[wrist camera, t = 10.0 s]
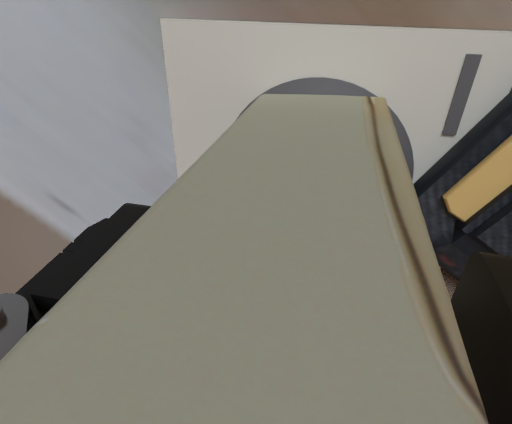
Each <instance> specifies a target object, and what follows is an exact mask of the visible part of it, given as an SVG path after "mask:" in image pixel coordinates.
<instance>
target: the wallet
mask: <svg viewBox="0 0 512 424" xmlns="http://www.w3.org/2000/svg"><path fill="white" fill-rule="evenodd" d="M413 185H414V188H415V191H416V194H417V198H418V201H419V204H420V207H421V211H422V214H423V217H424V220H425V223H426V227H427V230H428V234H429V237H430V240H431V243H432V246H433V249H434V252H435V255H436V258H437V261H438V264H439V266H440V267H441V268H442V269H443V270H445V271H446V272H447V273H449V274H450V275H452V276H453V277H454V278H456V279H457V280H460V278H461V276H462V273H463V271H464V269H465V266H466V264H467V262H468V260H469V258H470V256H471V255H472V254H473V253H474V252H484V253H491V254H499V255H506V256H512V91H511V92H510V93H509V94H508V95H507V96H506V97H505V98H503V99H502V100H501V101H500V102H499V103H498V104H497V105H496V106H495V107H494V108H493V109H492V110H491V111H490V112H489V113H488V114H487V115H486V116H485V117H484V118H482V119H481V120H480V121H479V122H478V123H477V124H476V125H475V126H474V127H473V128H472V129H471V130H470V131H469V132H468V133H467V134H466V135H465V136H464V137H463V138H461V139H460V140H459V141H458V142H457V143H456V144H455V145H454V146H453V147H452V148H451V149H450V150H449V151H448V152H447V153H446V154H445V155H444V156H443V157H441V158H440V159H439V160H438V161H437V162H436V163H435V164H434V165H433V166H432V167H431V168H430V169H429V170H428V171H427V172H426V173H425V174H424V175H423V176H421V177H420V178H419V179H418V180H417V181H416V182H415V183H414V184H413Z"/></svg>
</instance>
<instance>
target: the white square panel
mask: <svg viewBox="0 0 512 424" xmlns="http://www.w3.org/2000/svg"><path fill="white" fill-rule="evenodd" d="M160 21H161V30H162V39H163V48H164V57H165V66H166V75H167V84H168V93H169V102H170V111H171V120H172V129H173V138H174V147H175V156H176V165H177V174H178V179H179V178H180V177H181V176H182V174H183V173H184V172H185V171H186V170H187V169H188V168H189V167H190V166H191V165H192V164H193V163H194V162H195V161H197V160H198V159H199V157H200V156H201V155H202V154H203V153H204V152H205V151H206V150H207V149H208V148H209V147H210V146H211V145H212V144H213V143H214V142H215V141H216V140H217V139H218V138H219V137H220V136H221V135H222V134H223V133H224V132H225V131H226V130H227V129H228V128H229V127H230V126H231V125H232V124H233V123H234V122H235V121H236V120H237V119H238V118H239V117H240V115H241V114H242V113H243V112H244V111H245V110H246V109H247V108H248V107H249V106H250V105H251V104H252V103H253V102H254V101H255V100H256V99H257V98H258V97H259V96H260V95H263V94H309V95H346V96H367V97H383V98H385V99H386V102H387V105H388V108H389V110H390V113H391V117H392V120H393V123H394V126H395V128H396V131H397V135H398V138H399V141H400V144H401V147H402V151H403V154H404V156H405V160H406V162H407V165H408V169H409V172H410V175H411V179H412V182H413V184H414V183H415V182H416V181H417V180H418V179H419V178H420V177H421V176H423V175H424V174H425V173H426V172H427V171H428V170H429V169H430V168H431V167H432V166H433V165H434V164H435V163H436V162H437V161H438V160H439V159H440V158H441V157H443V156H444V155H445V154H446V153H447V152H448V151H449V150H450V149H451V148H452V147H453V146H454V145H455V144H456V143H457V142H458V141H459V140H460V139H461V138H463V137H464V136H465V135H466V134H467V133H468V132H469V131H470V130H471V129H472V128H473V127H474V126H475V125H476V124H477V123H478V122H479V121H480V120H481V119H482V118H484V117H485V116H486V115H487V114H488V113H489V112H490V111H491V110H492V109H493V108H494V107H495V106H496V105H497V104H498V103H499V102H500V101H501V100H502V99H503V98H505V97H506V96H507V95H508V94H509V92H510V90H511V87H512V31H493V30H467V29H440V28H413V27H386V26H359V25H332V24H306V23H279V22H252V21H225V20H198V19H171V18H162V19H160ZM439 267H440V266H439ZM440 270H441V267H440Z"/></svg>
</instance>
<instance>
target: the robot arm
mask: <svg viewBox="0 0 512 424" xmlns="http://www.w3.org/2000/svg"><path fill="white" fill-rule="evenodd" d="M150 207H151V206H145V205H138V204H131V203H126V204H124V205H123V206H122V207H121V208H119V209H118V210H117V211H116V212H115V213H114V214H113V215H112V216H111V217H110V218H109V219H108V218H105V219H103V220H101V221H100V222H98V223H96V224H94V225H92V226H90V227H88V228H87V229H86V230H84V231H83V232H82V233H81V234H80V235H79V236H78V237H77V238H76V239H75V240H74V243H72V242H71V243H70V244H69V245H68V246H67V247H66V248H65V249H64V250H63V253H59V254H58V255H57V256H56V257H55V258H54V259H53V260H52V261H50V262H49V263H48V264H47V265H46V266H45V267H44V268H43V269H42V270H41V271H39V272H38V273H37V274H36V275H35V276H34V277H33V278H32V279H31V280H30V281H29V282H27V284H25V285H24V286H23V287H22V288H21V289H20V290H19V291H18V292H16V293H15V294H13V293H2V294H0V360H1V359H2V358H3V357H4V356H5V355H6V354H7V353H8V352H9V351H10V350H11V349H12V348H13V347H14V346H15V345H16V344H17V343H18V341H19V340H20V339H21V338H22V337H23V336H24V335H25V334H26V333H27V332H28V331H29V330H30V329H31V328H32V327H33V326H34V325H35V324H36V323H37V322H38V321H39V320H40V319H41V318H42V317H43V316H44V315H45V314H47V313H48V312H49V311H50V310H51V308H52V307H53V306H54V305H55V304H56V303H57V302H58V301H59V300H60V299H61V298H62V297H63V296H64V295H65V294H66V293H67V292H68V291H69V290H70V289H71V288H72V287H73V286H74V285H75V284H76V283H77V282H78V281H79V280H80V279H81V278H82V277H83V276H84V275H85V274H86V273H87V272H88V271H89V270H90V268H91V267H92V266H93V265H94V264H95V263H96V262H97V261H98V260H99V259H100V258H101V257H102V256H103V255H104V254H105V253H106V252H107V251H108V250H109V249H110V248H111V247H112V246H113V245H114V244H115V243H116V242H117V241H118V240H119V239H120V238H121V237H122V236H123V235H124V234H125V233H126V232H127V231H128V230H129V229H130V228H131V227H132V226H133V225H134V224H135V223H136V222H137V220H138V219H139V218H140V217H141V216H142V215H143V214H144V213H145V212H146V211H147V210H148V209H149V208H150ZM451 304H452V307H453V311H454V314H455V318H456V321H457V324H458V328H459V331H460V334H461V337H462V341H463V344H464V347H465V350H466V353H467V357H468V360H469V363H470V366H471V369H472V372H473V375H474V378H475V381H476V384H477V387H478V391H479V394H480V397H481V400H482V403H483V406H484V409H485V413H486V416H487V420H488V423H489V424H512V256H506V255H499V254H491V253H484V252H474V253H473V254H472V255H471V256H470V258H469V260H468V262H467V264H466V266H465V269H464V271H463V273H462V276H461V278H460V280H459V282H458V285H457V287H456V289H455V292H454V294H453V296H452V299H451Z"/></svg>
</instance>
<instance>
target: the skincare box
mask: <svg viewBox="0 0 512 424" xmlns="http://www.w3.org/2000/svg"><path fill="white" fill-rule="evenodd" d="M0 424H489V423H488V420H487V416H486V413H485V409H484V406H483V403H482V400H481V397H480V394H479V391H478V387H477V384H476V381H475V378H474V375H473V372H472V369H471V366H470V363H469V360H468V357H467V353H466V350H465V347H464V344H463V341H462V337H461V334H460V331H459V328H458V324H457V321H456V318H455V314H454V311H453V307H452V304H451V300H450V297H449V294H448V291H447V288H446V285H445V282H444V279H443V276H442V273H441V270H440V267H439V264H438V261H437V258H436V255H435V252H434V249H433V246H432V243H431V240H430V237H429V234H428V230H427V227H426V223H425V220H424V217H423V214H422V211H421V207H420V204H419V201H418V198H417V194H416V191H415V188H414V185H413V182H412V179H411V175H410V172H409V169H408V165H407V162H406V160H405V156H404V154H403V151H402V147H401V144H400V141H399V138H398V135H397V131H396V128H395V126H394V123H393V120H392V117H391V113H390V110H389V108H388V105H387V102H386V99H385V98H383V97H367V96H346V95H309V94H263V95H260V96H259V97H258V98H257V99H256V100H255V101H254V102H253V103H252V104H251V105H250V106H249V107H248V108H247V109H246V110H245V111H244V112H243V113H242V114H241V115H240V117H239V118H238V119H237V120H236V121H235V122H234V123H233V124H232V125H231V126H230V127H229V128H228V129H227V130H226V131H225V132H224V133H223V134H222V135H221V136H220V137H219V138H218V139H217V140H216V141H215V142H214V143H213V144H212V145H211V146H210V147H209V148H208V149H207V150H206V151H205V152H204V153H203V154H202V155H201V156H200V157H199V159H198V160H197V161H195V162H194V163H193V164H192V165H191V166H190V167H189V168H188V169H187V170H186V171H185V172H184V173H183V174H182V176H181V177H180V178H179V179H178V180H177V181H176V182H175V183H174V184H173V185H172V186H171V187H170V188H169V189H168V190H167V191H166V192H165V193H164V194H163V195H162V196H161V197H160V198H159V199H158V200H157V201H156V202H155V203H154V204H153V205H152V206H151V207H150V208H149V209H148V210H147V211H146V212H145V213H144V214H143V215H142V216H141V217H140V218H139V219H138V220H137V222H136V223H135V224H134V225H133V226H132V227H131V228H130V229H129V230H128V231H127V232H126V233H125V234H124V235H123V236H122V237H121V238H120V239H119V240H118V241H117V242H116V243H115V244H114V245H113V246H112V247H111V248H110V249H109V250H108V251H107V252H106V253H105V254H104V255H103V256H102V257H101V258H100V259H99V260H98V261H97V262H96V263H95V264H94V265H93V266H92V267H91V268H90V270H89V271H88V272H87V273H86V274H85V275H84V276H83V277H82V278H81V279H80V280H79V281H78V282H77V283H76V284H75V285H74V286H73V287H72V288H71V289H70V290H69V291H68V292H67V293H66V294H65V295H64V296H63V297H62V298H61V299H60V300H59V301H58V302H57V303H56V304H55V305H54V306H53V307H52V308H51V310H50V311H49V312H48V313H47V314H45V315H44V316H43V317H42V318H41V319H40V320H39V321H38V322H37V323H36V324H35V325H34V326H33V327H32V328H31V329H30V330H29V331H28V332H27V333H26V334H25V335H24V336H23V337H22V338H21V339H20V340H19V341H18V343H17V344H16V345H15V346H14V347H13V348H12V349H11V350H10V351H9V352H8V353H7V354H6V355H5V356H4V357H3V358H2V359H1V360H0Z"/></svg>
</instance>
